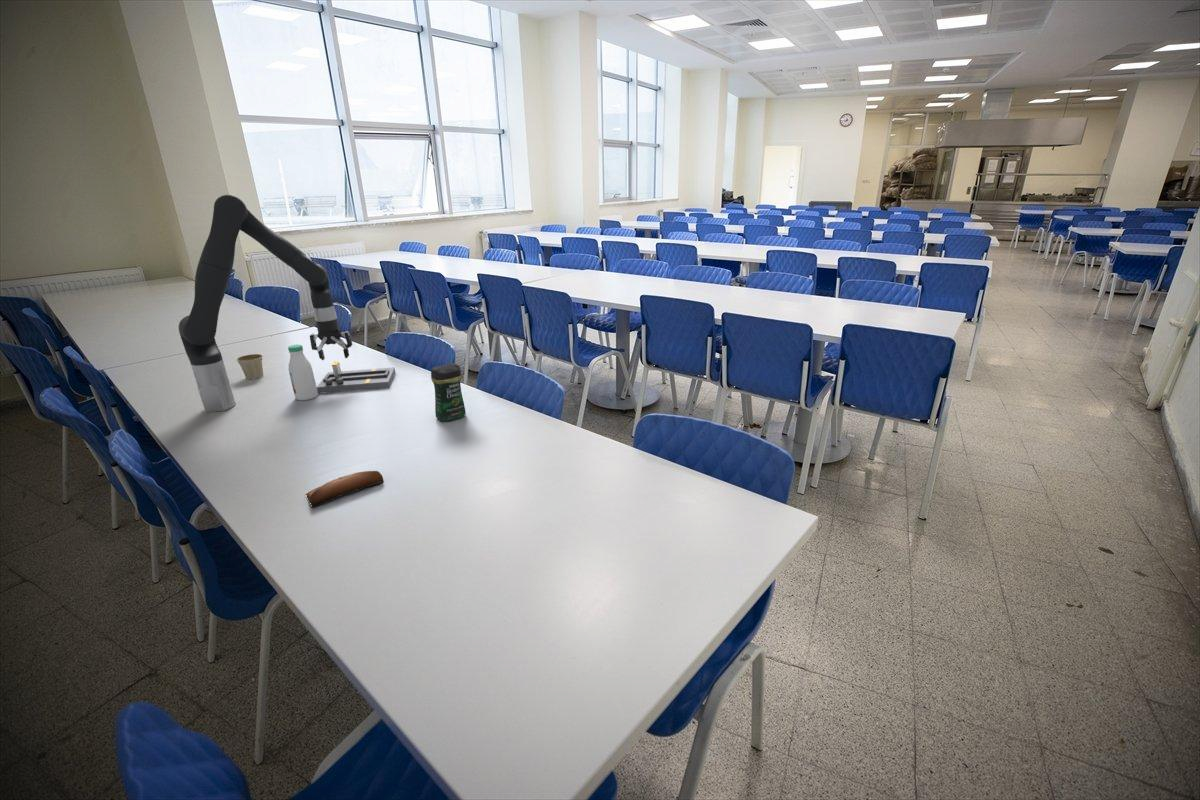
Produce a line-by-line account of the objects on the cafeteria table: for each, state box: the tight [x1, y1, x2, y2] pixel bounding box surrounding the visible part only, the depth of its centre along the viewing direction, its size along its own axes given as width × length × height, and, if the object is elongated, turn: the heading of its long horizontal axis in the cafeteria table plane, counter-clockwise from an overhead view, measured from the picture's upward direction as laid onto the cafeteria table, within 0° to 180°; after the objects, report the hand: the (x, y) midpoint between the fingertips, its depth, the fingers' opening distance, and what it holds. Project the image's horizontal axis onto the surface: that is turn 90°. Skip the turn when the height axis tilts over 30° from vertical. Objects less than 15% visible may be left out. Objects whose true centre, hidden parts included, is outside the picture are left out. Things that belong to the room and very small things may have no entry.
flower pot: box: [235, 353, 264, 380], centre depth 221 cm, size 9×9×9 cm
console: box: [316, 367, 396, 394], centre depth 214 cm, size 18×26×4 cm
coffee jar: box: [430, 362, 467, 422], centre depth 179 cm, size 10×8×19 cm
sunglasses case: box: [305, 470, 384, 508], centre depth 139 cm, size 18×7×7 cm
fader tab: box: [331, 360, 342, 378], centre depth 211 cm, size 4×2×6 cm, turn 12°
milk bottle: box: [287, 344, 319, 401], centre depth 197 cm, size 8×8×20 cm
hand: (335, 358), depth 210 cm, fingers open, 8 cm apart
